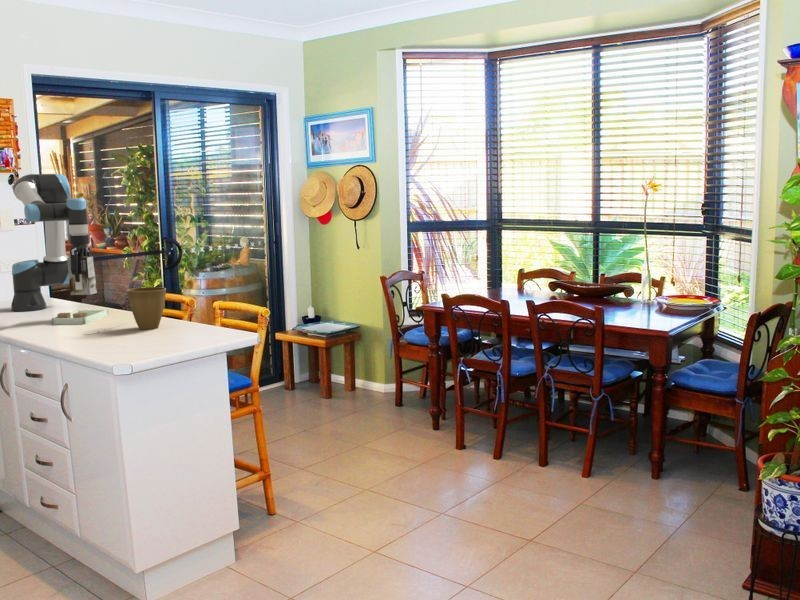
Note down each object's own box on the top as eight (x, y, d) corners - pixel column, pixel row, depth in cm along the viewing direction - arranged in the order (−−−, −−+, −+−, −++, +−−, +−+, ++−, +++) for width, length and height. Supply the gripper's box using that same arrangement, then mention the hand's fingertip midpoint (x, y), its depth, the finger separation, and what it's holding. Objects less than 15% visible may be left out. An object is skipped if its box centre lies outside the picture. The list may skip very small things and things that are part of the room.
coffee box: (97, 293, 329) (94, 255, 326) (90, 295, 322) (87, 257, 320) (77, 293, 330) (74, 256, 327) (69, 295, 323) (66, 257, 321)
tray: (77, 318, 335) (77, 310, 334) (108, 317, 334) (108, 309, 334) (52, 326, 313) (51, 318, 313) (85, 326, 312) (84, 318, 312)
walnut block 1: (61, 322, 318) (60, 312, 318) (71, 321, 319) (70, 312, 318) (58, 323, 314) (57, 314, 314) (68, 323, 315) (67, 314, 314)
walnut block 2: (80, 321, 318) (79, 312, 318) (88, 322, 317) (87, 312, 317) (73, 323, 315) (72, 313, 314) (81, 323, 313) (80, 314, 313)
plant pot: (156, 331, 297) (154, 291, 295) (122, 331, 300) (119, 291, 298) (175, 325, 311) (172, 286, 309) (142, 324, 314) (139, 286, 312)
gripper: (81, 233, 332) (85, 285, 335) (58, 236, 313) (63, 291, 316) (97, 233, 332) (101, 285, 335) (76, 235, 313) (81, 291, 316)
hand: (83, 288), depth 326 cm, fingers closed on coffee box, 6 cm apart
